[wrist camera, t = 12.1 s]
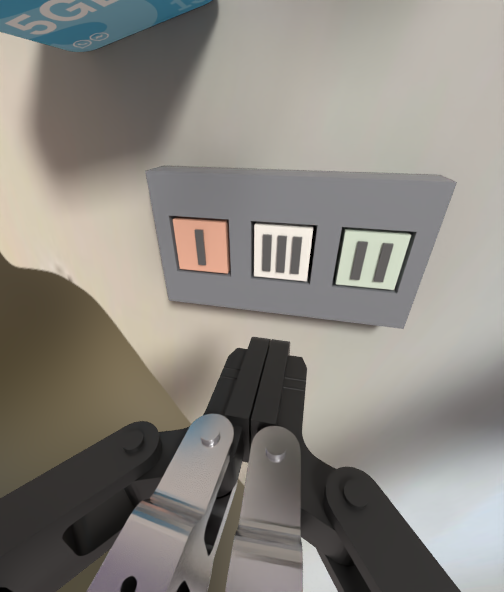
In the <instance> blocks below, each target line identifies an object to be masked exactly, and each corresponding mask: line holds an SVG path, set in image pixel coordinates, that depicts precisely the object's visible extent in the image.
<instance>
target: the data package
mask: <svg viewBox="0 0 504 592" xmlns="http://www.w3.org/2000/svg"><path fill="white" fill-rule="evenodd" d="M211 1H212V0H0V32H3V33H7V34H10V35H14V36H17V37H21V38H24V39H28V40H32V41H35V42H39V43H42V44H46V45H49V46H53V47H57V48H60V49H64V50H67V51H72V52H85V51H91V50H95V49H98V48H100V47H103V46H105V45H108V44H110V43H113V42H115V41H117V40H120V39H122V38H125V37H127V36H130V35H132V34H134V33H137V32H139V31H142V30H144V29H147V28H149V27H151V26H154V25H156V24H159V23H161V22H164V21H166V20H169V19H171V18H173V17H176V16H178V15H181V14H183V13H186V12H188V11H190V10H193V9H195V8H198V7H200V6H203V5H205V4H207V3H209V2H211Z"/></svg>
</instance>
